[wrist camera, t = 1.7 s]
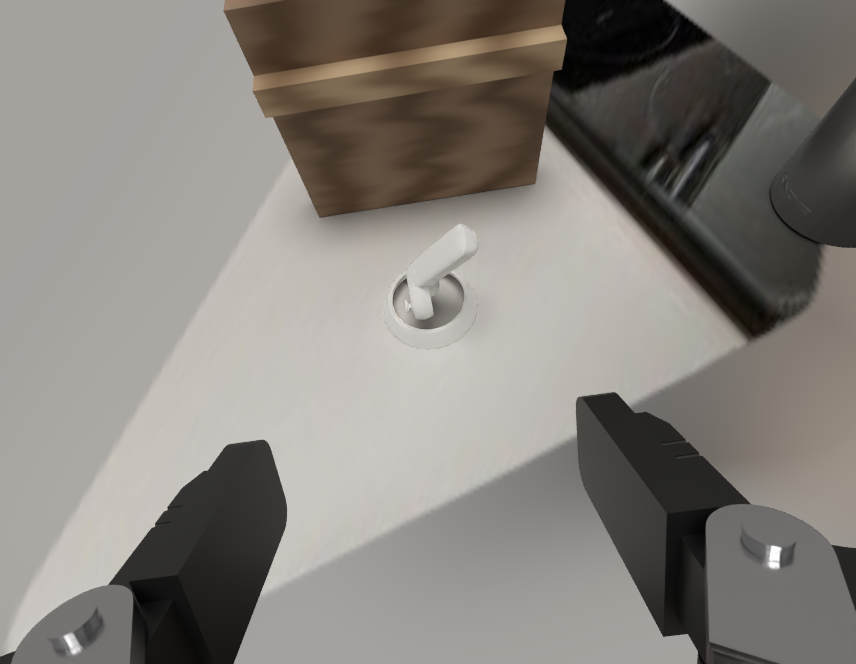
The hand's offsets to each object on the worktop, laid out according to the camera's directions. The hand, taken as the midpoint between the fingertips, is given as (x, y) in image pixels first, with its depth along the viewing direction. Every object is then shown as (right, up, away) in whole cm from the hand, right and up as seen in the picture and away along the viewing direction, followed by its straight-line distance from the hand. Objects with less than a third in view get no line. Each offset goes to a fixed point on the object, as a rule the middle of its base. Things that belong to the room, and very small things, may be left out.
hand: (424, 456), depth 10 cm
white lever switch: (0, +5, +28) cm, 28 cm away
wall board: (0, +16, +33) cm, 36 cm away
